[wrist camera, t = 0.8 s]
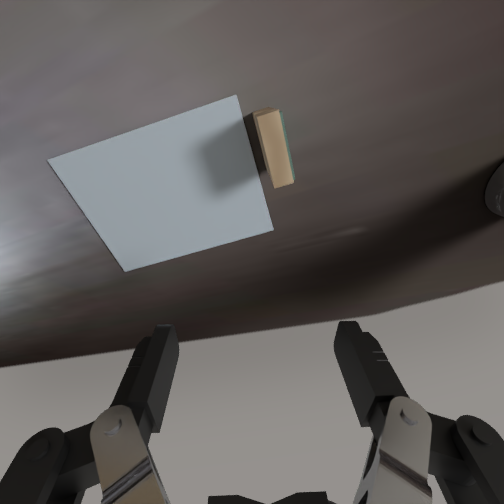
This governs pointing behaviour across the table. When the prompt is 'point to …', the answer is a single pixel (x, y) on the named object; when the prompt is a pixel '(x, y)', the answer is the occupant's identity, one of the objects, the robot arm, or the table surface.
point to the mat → (170, 186)
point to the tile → (274, 145)
